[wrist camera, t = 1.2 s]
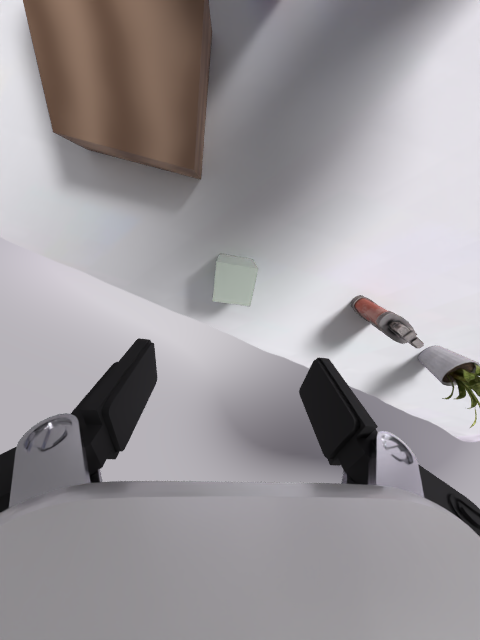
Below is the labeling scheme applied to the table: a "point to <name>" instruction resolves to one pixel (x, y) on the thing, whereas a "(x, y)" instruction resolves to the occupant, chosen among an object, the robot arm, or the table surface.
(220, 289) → the sage box
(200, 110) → the walnut block
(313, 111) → the table surface
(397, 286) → the table surface
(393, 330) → the lighter
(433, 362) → the house plant
